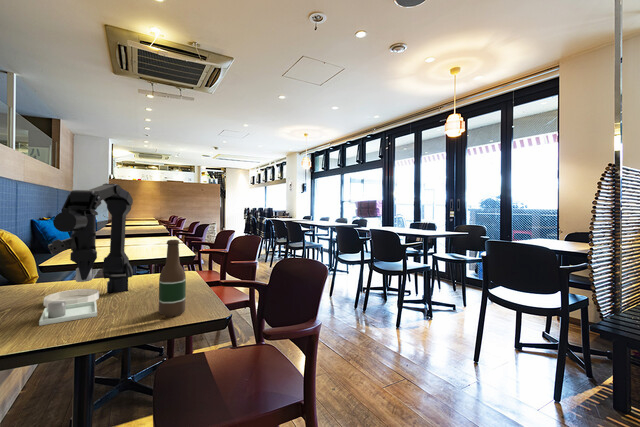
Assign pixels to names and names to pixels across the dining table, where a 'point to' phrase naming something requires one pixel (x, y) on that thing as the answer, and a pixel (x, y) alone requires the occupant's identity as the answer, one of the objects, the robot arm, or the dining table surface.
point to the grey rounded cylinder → (78, 276)
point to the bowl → (73, 296)
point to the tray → (71, 313)
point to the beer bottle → (172, 283)
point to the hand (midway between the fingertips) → (83, 278)
